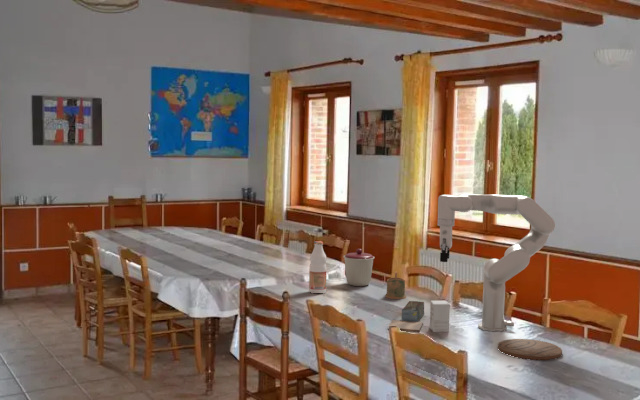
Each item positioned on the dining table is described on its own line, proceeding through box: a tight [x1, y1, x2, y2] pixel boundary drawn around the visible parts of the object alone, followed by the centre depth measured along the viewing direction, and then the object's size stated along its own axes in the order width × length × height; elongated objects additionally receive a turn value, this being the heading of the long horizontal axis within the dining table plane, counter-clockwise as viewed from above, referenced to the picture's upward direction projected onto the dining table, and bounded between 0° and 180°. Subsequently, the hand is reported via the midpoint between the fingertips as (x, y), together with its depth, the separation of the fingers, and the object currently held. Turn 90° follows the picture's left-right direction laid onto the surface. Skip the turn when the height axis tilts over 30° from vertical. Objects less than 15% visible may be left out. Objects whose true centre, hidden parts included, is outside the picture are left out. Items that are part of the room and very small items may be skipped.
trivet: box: [497, 338, 563, 361], centre depth 290 cm, size 25×25×2 cm
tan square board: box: [387, 319, 424, 333], centre depth 323 cm, size 14×14×1 cm
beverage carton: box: [401, 300, 425, 322], centre depth 341 cm, size 8×19×7 cm, turn 162°
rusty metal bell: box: [384, 271, 407, 300], centre depth 389 cm, size 12×18×12 cm, turn 174°
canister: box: [343, 248, 375, 287], centre depth 416 cm, size 18×18×21 cm
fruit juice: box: [308, 240, 327, 294], centre depth 392 cm, size 9×9×28 cm
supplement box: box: [429, 300, 451, 333], centre depth 319 cm, size 7×7×13 cm
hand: (444, 260), depth 324 cm, fingers open, 9 cm apart
